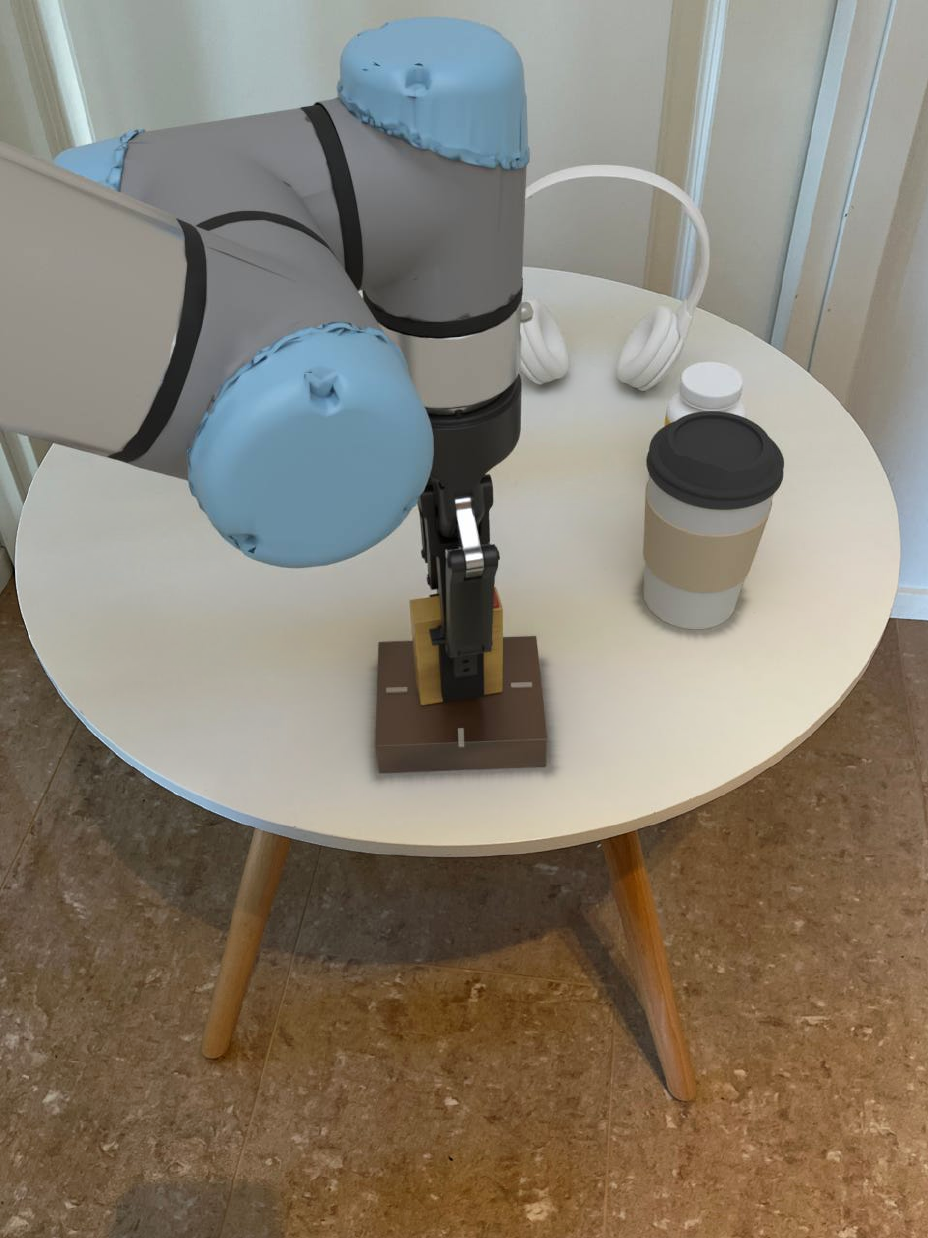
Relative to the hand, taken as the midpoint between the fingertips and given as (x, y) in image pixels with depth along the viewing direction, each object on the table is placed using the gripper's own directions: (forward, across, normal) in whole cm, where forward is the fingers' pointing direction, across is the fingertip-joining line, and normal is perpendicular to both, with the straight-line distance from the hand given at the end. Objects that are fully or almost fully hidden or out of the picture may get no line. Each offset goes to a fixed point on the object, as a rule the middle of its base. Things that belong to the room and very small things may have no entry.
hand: (458, 678), depth 70 cm
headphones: (+4, +37, -20) cm, 42 cm away
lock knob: (+1, 0, 0) cm, 1 cm away
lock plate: (+4, 0, 0) cm, 4 cm away
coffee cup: (+4, +8, -19) cm, 21 cm away
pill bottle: (+4, +19, -24) cm, 31 cm away
